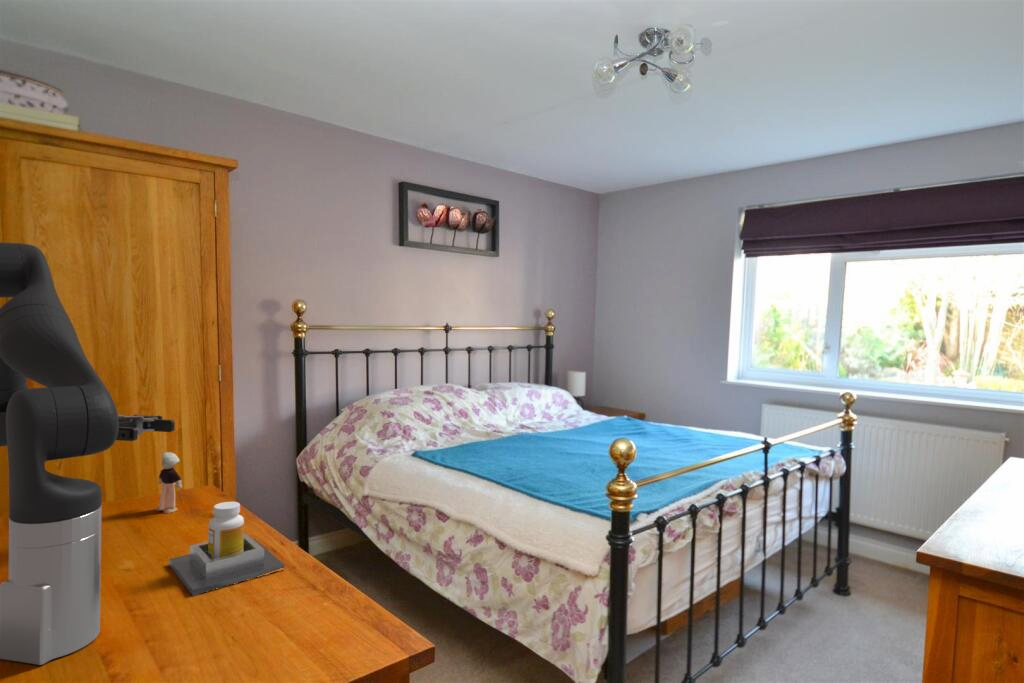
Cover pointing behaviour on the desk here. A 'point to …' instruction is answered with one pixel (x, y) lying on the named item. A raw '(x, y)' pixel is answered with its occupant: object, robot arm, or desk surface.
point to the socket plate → (223, 566)
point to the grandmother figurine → (168, 483)
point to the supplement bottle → (225, 531)
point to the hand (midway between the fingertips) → (155, 430)
